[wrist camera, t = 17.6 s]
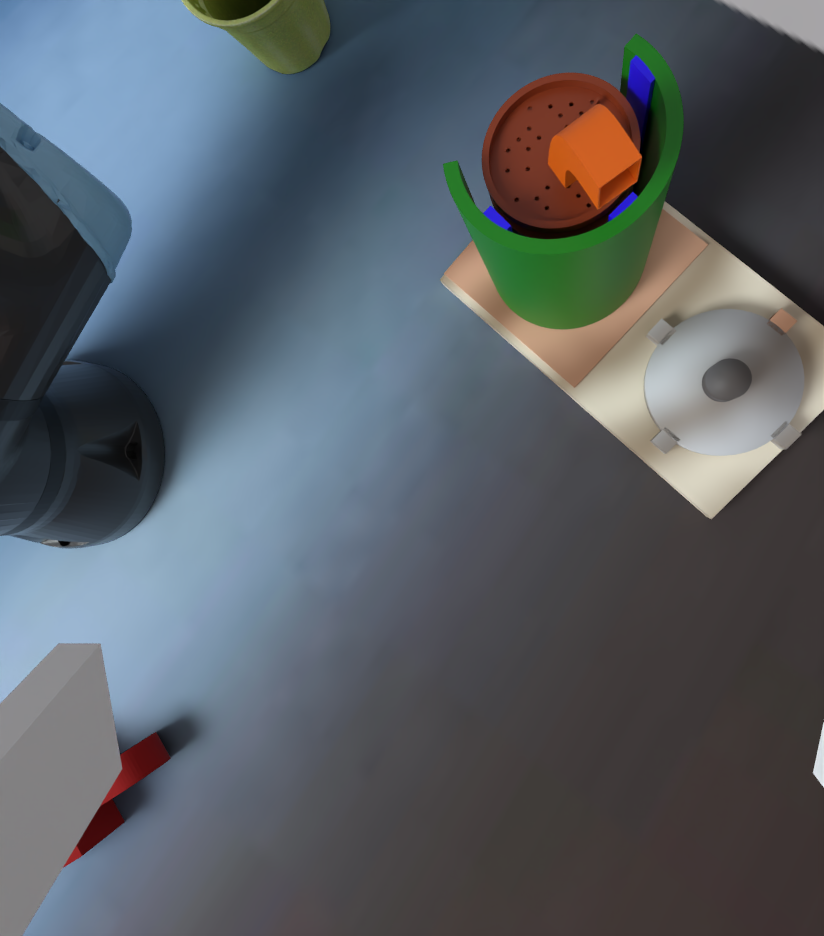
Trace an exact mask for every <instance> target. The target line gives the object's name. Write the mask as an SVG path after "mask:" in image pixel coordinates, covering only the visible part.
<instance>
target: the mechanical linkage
mask: <svg viewBox="0 0 824 936" xmlns="http://www.w3.org/2000/svg"><path fill="white" fill-rule="evenodd" d="M120 758H121V764H122V770H121V772H120V773H119V775H118V777H117V778H116V780H115V782H114V783H113V785H112V787H111V788H110V790H109V792H108V793H107V795H106V797H105V798H104V800H103V802H102V803H101V805H100V807H99V808H98V810H97V812H96V813H95V815H94V817H93V818H92V820H91V822H90V823H89V825H88V827H87V828H86V830H85V832H84V833H83V835H82V837H81V838H80V840H79V842H78V843H77V845H76V847H75V848H74V850H73V852H72V853H71V855H70V857H69V858H68V860H67V862H66V863H65V865H64V867H65V866H67V865H68V864H70V863H71V862H73V861H75V860H76V859H78V858H79V857H81V856H83V855H84V854H85V853H86V852H88V851H89V850H90V849H91V848H93V847H94V846H95V845H96V844H98V843H99V842H100V841H101V840H103V839H104V838H105V837H106V836H108V835H109V834H110V833H112V832H113V831H114V830H115V829H117V828H118V827H119V826H120V825H122V824H123V823H124V822H125V821H124V820H123V818H122V816H121V814H120V812H119V810H118V809H117V807H116V805H115V803H114V801H113V799H112V798H114V797H115V796H117V795H119V794H120V793H122V792H123V791H125V790H126V789H128V788H129V787H131V786H132V785H134V784H135V783H137V782H138V781H140V780H141V779H143V778H144V777H146V776H147V775H148V774H150V773H151V772H153V771H154V770H156V769H157V768H158V767H160V766H161V765H163V764H164V763H165V762H167V761H168V760H169V759H170V756H169V754H168V752H167V751H166V749H165V747H164V745H163V743H162V742H161V740H160V738H159V736H158V734H157V733H156V732H155V733H153V734H152V735H150V736H148V737H147V738H145V739H144V740H142V741H141V742H139V743H138V744H136V745H134V746H133V747H131V748H130V749H128V750H127V751H125V752H124V753H122V754H121V755H120Z"/></svg>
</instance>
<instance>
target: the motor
mask: <svg viewBox="0 0 824 936" xmlns="http://www.w3.org/2000/svg"><path fill="white" fill-rule="evenodd" d="M683 125H684V121H683V106H682V100H681V95H680V91H679V88H678V85H677V82H676V80H675V78H674V75H673V73H672V71H671V70H670V68H669V66H668V65H667V63H666V61H665V60H664V59H663V57H662V56H661V55H660V54H659V53H658V51H657V50H656V49H655V48H654V47H653V46H652V45H651V44H650V43H648V42H647V41H646V40H645V39H643V38H642V37H641V36H639V35H638V34H635V35H634V37H633V38H632V39H631V40H630V41H629V42H628V43H627V44H626V46H625V48H624V58H623V68H622V78H621V88H620V92H619V91H618V90H617V89H616V88H615V87H614V86H612V85H611V84H609V83H608V82H606V81H604V80H602V79H600V78H597V77H594V76H591V75H587V74H581V73H560V74H554V75H550V76H546V77H543V78H540V79H538V80H535V81H533V82H531V83H529V84H528V85H526V86H524V87H523V88H521V89H520V90H518V91H517V92H516V93H515V94H513V95H512V96H511V97H510V98H509V99H508V100H507V101H506V102H505V103H504V104H503V105H502V107H501V108H500V109H499V111H498V112H497V113H496V115H495V117H494V118H493V120H492V122H491V124H490V126H489V128H488V131H487V133H486V136H485V140H484V144H483V150H482V170H483V176H484V180H485V183H486V186H487V189H488V191H489V194H490V198H491V201H492V204H493V206H494V209H495V210H494V209H493V208H492V207H491V206H490V207H489V208H488V209H487V210H486V211H485V212H484V213H482V212H481V211H480V210H479V209H478V208H477V207H476V205H475V203H474V200H473V198H472V195H471V193H470V190H469V188H468V186H467V183H466V181H465V178H464V176H463V173H462V171H461V168H460V166H459V163H458V161H453V162H449V163H445V164H443V167H444V173H445V177H446V181H447V184H448V187H449V190H450V193H451V195H452V197H453V199H454V201H455V203H456V205H457V208H458V210H459V212H460V214H461V216H462V218H463V220H464V222H465V224H466V226H467V228H468V231H469V233H470V235H471V237H472V239H473V241H474V243H475V245H476V247H477V249H478V252H479V254H480V256H481V258H482V260H483V262H484V264H485V266H486V268H487V270H488V272H489V275H490V277H491V279H492V281H493V283H494V285H495V287H496V289H497V291H498V293H499V295H500V297H501V298H502V300H503V301H504V302H505V304H506V305H507V306H508V307H509V308H510V309H511V310H512V311H513V312H514V313H516V314H517V315H518V316H520V317H521V318H523V319H524V320H526V321H528V322H530V323H532V324H535V325H538V326H541V327H544V328H550V329H561V330H563V329H575V328H580V327H584V326H587V325H590V324H593V323H595V322H598V321H600V320H602V319H604V318H605V317H607V316H609V315H610V314H611V313H613V312H614V311H615V310H617V309H618V308H619V307H620V306H621V305H622V304H623V303H624V302H625V301H626V300H627V299H628V298H629V296H630V295H631V294H632V292H633V291H634V289H635V288H636V286H637V284H638V282H639V281H640V278H641V276H642V273H643V271H644V267H645V264H646V261H647V258H648V254H649V251H650V248H651V244H652V241H653V238H654V235H655V231H656V228H657V225H658V221H659V218H660V215H661V211H662V208H663V205H664V202H665V198H666V195H667V192H668V188H669V185H670V182H671V178H672V175H673V172H674V169H675V165H676V162H677V159H678V155H679V152H680V147H681V143H682V136H683Z"/></svg>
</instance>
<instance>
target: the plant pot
mask: <svg viewBox="0 0 824 936" xmlns="http://www.w3.org/2000/svg"><path fill="white" fill-rule="evenodd" d="M182 2H183V3H184V5H185V6H186V7H187V8H188V10H189V11H190V12H191V13H192V14H193V15H194V16H196V17H197V18H198V19H200V20H201V21H203V22H205V23H207V24H209V25H212V26H215V27H219V28H221V29H223V30H226V31H227V32H228V33H229V34H230V35H232V36H233V37H234V38H235V39H236V40H237V41H239V42H240V43H241V44H242V45H243V46H244V47H246V48H247V49H248V50H249V51H250V52H251V53H252V54H254V55H255V56H256V57H257V58H258V59H259V60H260V61H261V62H263V63H264V64H265V65H266V66H267V67H269V68H270V69H272V70H275V71H277V72H280V73H282V74H294V73H298V72H300V71H303V70H305V69H307V68H308V67H310V66H311V65H312V64H314V63H315V62H316V61H317V59H318V58H319V56H320V54H321V51H322V49H323V47H324V45H325V44H326V42H327V41H328V39H329V35H330V18H329V14H328V11H327V9H326V6H325V3H324V0H182Z"/></svg>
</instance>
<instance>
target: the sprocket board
mask: <svg viewBox="0 0 824 936" xmlns="http://www.w3.org/2000/svg"><path fill="white" fill-rule="evenodd" d="M440 281H441V282H442V283H443V285H444V286H445V287H446V288H447V289H449V290H450V291H451V292H452V293H453V294H454V295H455V296H457V297H458V298H459V299H460V300H461V301H462V302H463V303H464V304H466V305H467V306H468V307H469V308H470V309H471V310H472V311H474V312H475V313H476V314H477V315H478V316H479V317H480V318H482V319H483V320H484V321H485V322H486V323H487V324H488V325H489V326H491V327H492V328H493V329H494V330H495V331H496V332H497V333H499V334H500V335H501V336H502V337H503V338H504V339H505V340H506V341H508V342H509V343H510V344H511V345H512V346H513V347H514V348H516V349H517V350H518V351H519V352H520V353H521V354H522V355H524V356H525V357H526V358H527V359H528V360H529V361H530V362H531V363H533V364H534V365H535V366H536V367H537V368H538V369H539V370H541V371H542V372H543V373H544V374H545V375H546V376H547V377H548V378H550V379H551V380H552V381H553V382H554V383H555V384H556V385H558V386H559V387H560V388H561V389H562V390H563V391H564V392H566V393H567V394H568V395H569V396H570V397H571V398H572V399H573V400H575V401H576V402H577V403H578V404H579V405H580V406H581V407H583V408H584V409H585V410H586V411H587V412H588V413H589V414H590V415H592V416H593V417H594V418H595V419H596V420H597V421H598V422H600V423H601V424H602V425H603V426H604V427H605V428H606V429H607V430H609V431H610V432H611V433H612V434H613V435H614V436H615V437H617V438H618V439H619V440H620V441H621V442H622V443H623V444H625V445H626V446H627V447H628V448H629V449H630V450H631V451H632V452H634V453H635V454H636V455H637V456H638V457H639V458H640V459H642V460H643V461H644V462H645V463H646V464H647V465H648V466H649V467H651V468H652V469H653V470H654V471H655V472H656V473H657V474H659V475H660V476H661V477H662V478H663V479H664V480H665V481H667V482H668V483H669V484H670V485H671V486H672V487H673V488H674V489H676V490H677V491H678V492H679V493H680V494H681V495H682V496H684V497H685V498H686V499H687V500H688V501H689V502H690V503H691V504H693V505H694V506H695V507H696V508H697V509H698V510H699V511H701V512H702V513H703V514H704V515H705V516H706V517H708V518H710V519H712V518H713V517H714V516H715V515H716V514H717V513H718V512H719V511H720V510H721V509H722V508H723V507H724V506H725V505H726V504H727V503H728V502H729V501H730V500H731V499H733V498H734V497H735V496H736V495H737V494H738V493H739V492H740V491H741V490H742V489H743V488H744V487H745V486H746V485H747V484H748V483H749V482H750V481H751V480H752V479H753V478H754V477H755V476H756V475H757V474H758V473H759V472H760V471H761V470H762V469H763V468H764V467H765V466H766V465H767V464H768V463H770V462H771V461H772V460H773V459H774V458H775V457H776V456H777V455H778V454H779V453H780V452H781V451H782V450H783V449H787V448H788V447H789V446H790V445H791V444H792V443H793V442H794V441H795V440H796V439H797V438H798V437H799V436H801V435H802V434H801V433H800V432H801V431H802V430H803V429H804V428H805V427H806V426H808V425H809V424H810V423H811V422H812V421H813V420H814V419H815V418H816V417H817V416H818V415H819V414H820V413H821V412H822V411H823V410H824V326H823V325H821V324H820V323H819V322H818V321H816V320H815V319H814V318H813V317H811V316H810V315H809V314H807V313H806V312H805V311H804V310H802V309H801V308H800V307H799V306H797V305H796V304H795V303H793V302H792V301H791V300H790V299H788V298H787V297H786V296H785V295H783V294H782V293H781V292H780V291H778V290H777V289H776V288H774V287H773V286H772V285H771V284H769V283H768V282H767V281H766V280H764V279H763V278H762V277H760V276H759V275H758V274H757V273H755V272H754V271H753V270H752V269H750V268H749V267H748V266H747V265H745V264H744V263H743V262H741V261H740V260H739V259H738V258H736V257H735V256H734V255H733V254H731V253H730V252H729V251H727V250H726V249H725V248H724V247H722V246H721V245H720V244H719V243H717V242H716V241H715V240H713V239H712V238H711V237H710V236H708V235H707V234H706V233H705V232H703V231H702V230H701V229H700V228H698V227H697V226H696V225H694V224H693V223H692V222H691V221H689V220H688V219H687V218H686V217H684V216H683V215H682V214H680V213H679V212H678V211H677V210H675V209H674V208H673V207H672V206H670V205H669V204H668V203H667V202H664V205H663V208H662V211H661V215H660V218H659V221H658V225H657V228H656V231H655V235H654V238H653V241H652V244H651V248H650V251H649V254H648V258H647V261H646V264H645V267H644V271H643V273H642V276H641V278H640V281H639V282H638V284H637V286H636V288H635V289H634V291H633V292H632V294H631V295H630V296H629V298H628V299H627V300H626V301H625V302H624V303H623V304H622V305H621V306H620V307H619V308H618V309H617V310H615V311H614V312H613V313H611V314H610V315H609V316H607V317H605V318H604V319H602V320H600V321H598V322H595V323H593V324H590V325H587V326H584V327H580V328H575V329H563V330H561V329H550V328H544V327H541V326H538V325H535V324H532V323H530V322H528V321H526V320H524V319H523V318H521V317H520V316H518V315H517V314H516V313H514V312H513V311H512V310H511V309H510V308H509V307H508V306H507V305H506V304H505V302H504V301H503V300H502V298H501V297H500V295H499V293H498V291H497V289H496V287H495V285H494V283H493V281H492V279H491V277H490V275H489V272H488V270H487V268H486V266H485V264H484V262H483V260H482V258H481V256H480V254H479V252H478V249H477V247H476V245H475V243H474V241H473V240H472V241H471V242H470V244H469V245H468V246H467V247H466V248H465V250H464V251H463V252H462V253H461V254H460V255H459V257H458V258H457V259H456V260H455V261H454V262H453V264H452V265H451V266H450V267H449V268H448V269H447V271H446V272H445V273H444V276H443V277H442V278H441V279H440Z"/></svg>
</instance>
